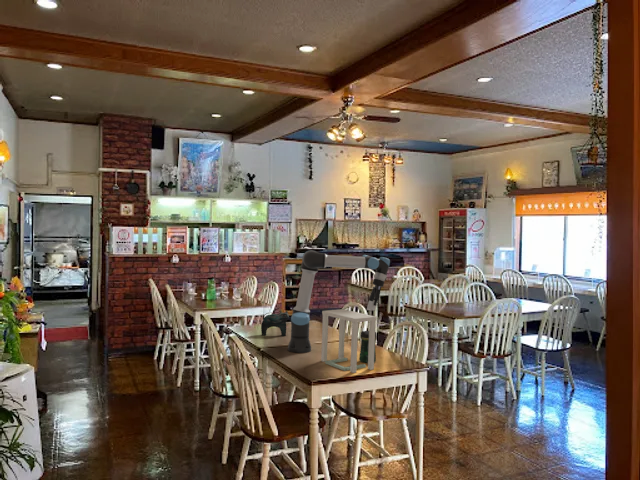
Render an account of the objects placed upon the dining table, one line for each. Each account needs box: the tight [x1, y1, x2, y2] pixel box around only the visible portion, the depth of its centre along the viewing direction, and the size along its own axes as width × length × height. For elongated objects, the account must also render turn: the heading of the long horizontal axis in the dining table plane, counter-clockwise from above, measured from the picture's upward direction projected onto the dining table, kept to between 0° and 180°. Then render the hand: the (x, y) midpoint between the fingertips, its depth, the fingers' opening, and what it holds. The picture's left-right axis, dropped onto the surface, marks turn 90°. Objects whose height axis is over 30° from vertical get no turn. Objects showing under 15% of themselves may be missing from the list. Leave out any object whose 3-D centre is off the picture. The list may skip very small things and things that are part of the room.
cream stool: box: [320, 308, 377, 374], centre depth 298 cm, size 17×30×30 cm, turn 37°
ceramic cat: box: [260, 307, 290, 337], centre depth 374 cm, size 20×6×20 cm, turn 92°
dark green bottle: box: [358, 330, 378, 364], centre depth 308 cm, size 10×8×19 cm
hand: (370, 310), depth 343 cm, fingers open, 13 cm apart
